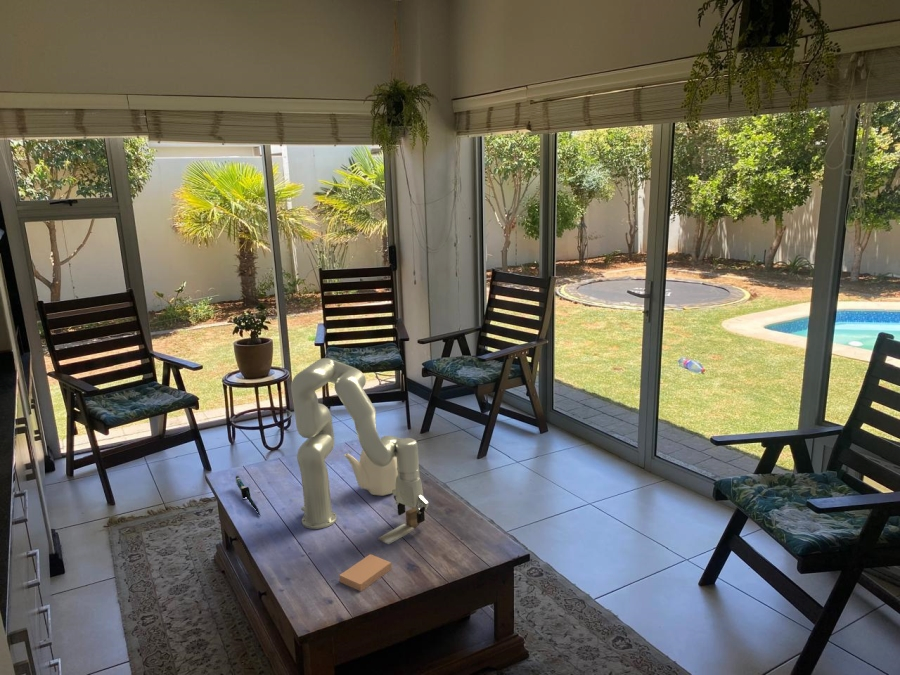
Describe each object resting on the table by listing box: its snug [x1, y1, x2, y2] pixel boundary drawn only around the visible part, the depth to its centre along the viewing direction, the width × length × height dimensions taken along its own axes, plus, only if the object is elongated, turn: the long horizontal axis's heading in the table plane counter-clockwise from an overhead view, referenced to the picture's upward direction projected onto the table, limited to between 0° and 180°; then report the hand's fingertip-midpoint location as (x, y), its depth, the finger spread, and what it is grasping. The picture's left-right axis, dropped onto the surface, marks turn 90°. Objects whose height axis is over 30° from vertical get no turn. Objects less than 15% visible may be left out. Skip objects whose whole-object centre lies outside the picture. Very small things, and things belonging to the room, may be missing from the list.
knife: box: [235, 475, 261, 517], centre depth 264 cm, size 31×3×4 cm, turn 29°
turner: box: [378, 507, 420, 545], centre depth 236 cm, size 5×16×6 cm, turn 137°
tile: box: [339, 554, 392, 592], centre depth 212 cm, size 9×3×14 cm
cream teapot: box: [344, 449, 398, 497], centre depth 267 cm, size 16×27×19 cm, turn 118°
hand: (411, 517), depth 240 cm, fingers open, 9 cm apart
